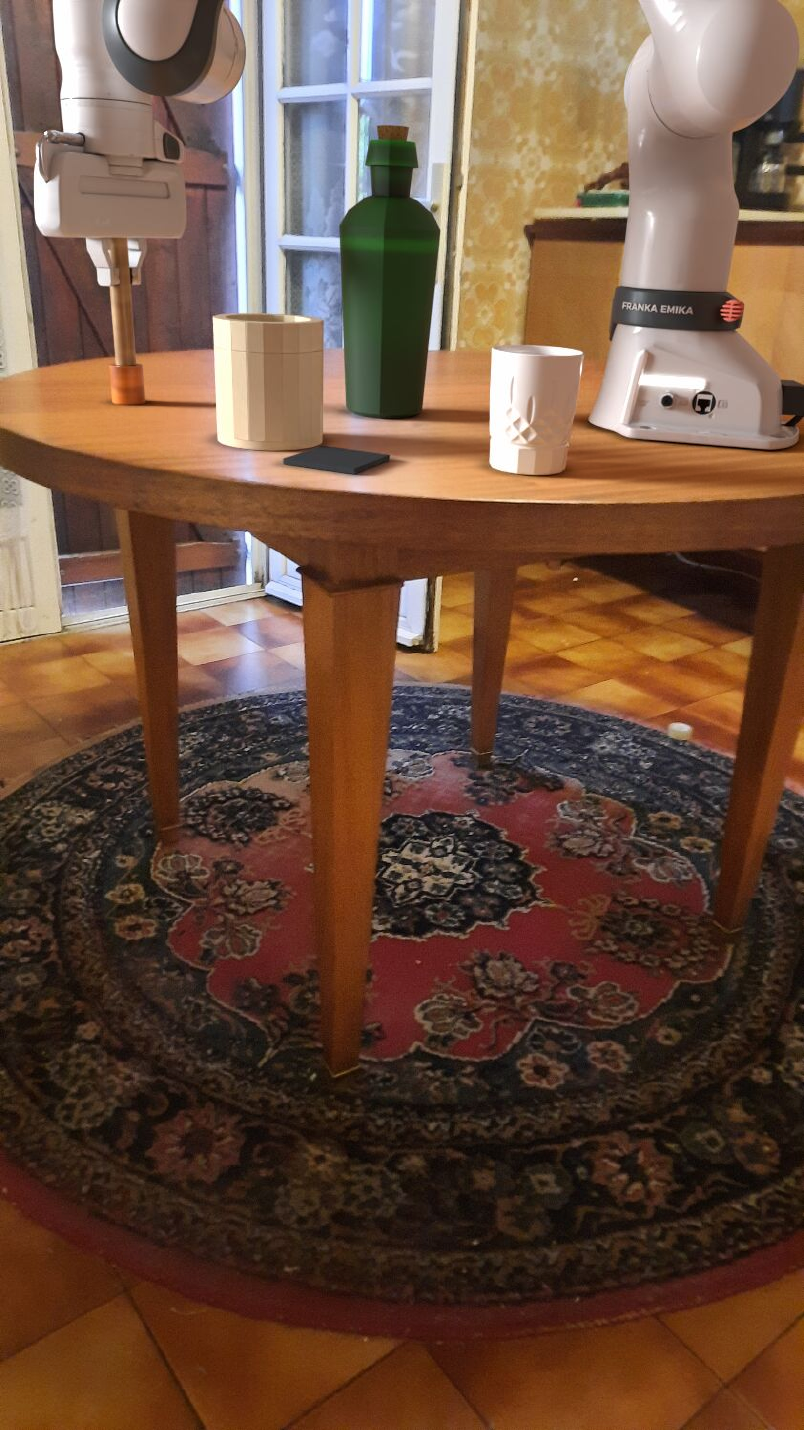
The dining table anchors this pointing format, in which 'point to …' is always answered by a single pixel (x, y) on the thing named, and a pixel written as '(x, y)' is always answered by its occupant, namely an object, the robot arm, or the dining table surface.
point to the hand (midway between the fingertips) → (120, 285)
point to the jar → (269, 380)
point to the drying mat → (337, 459)
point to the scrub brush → (124, 333)
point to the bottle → (388, 284)
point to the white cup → (532, 407)
